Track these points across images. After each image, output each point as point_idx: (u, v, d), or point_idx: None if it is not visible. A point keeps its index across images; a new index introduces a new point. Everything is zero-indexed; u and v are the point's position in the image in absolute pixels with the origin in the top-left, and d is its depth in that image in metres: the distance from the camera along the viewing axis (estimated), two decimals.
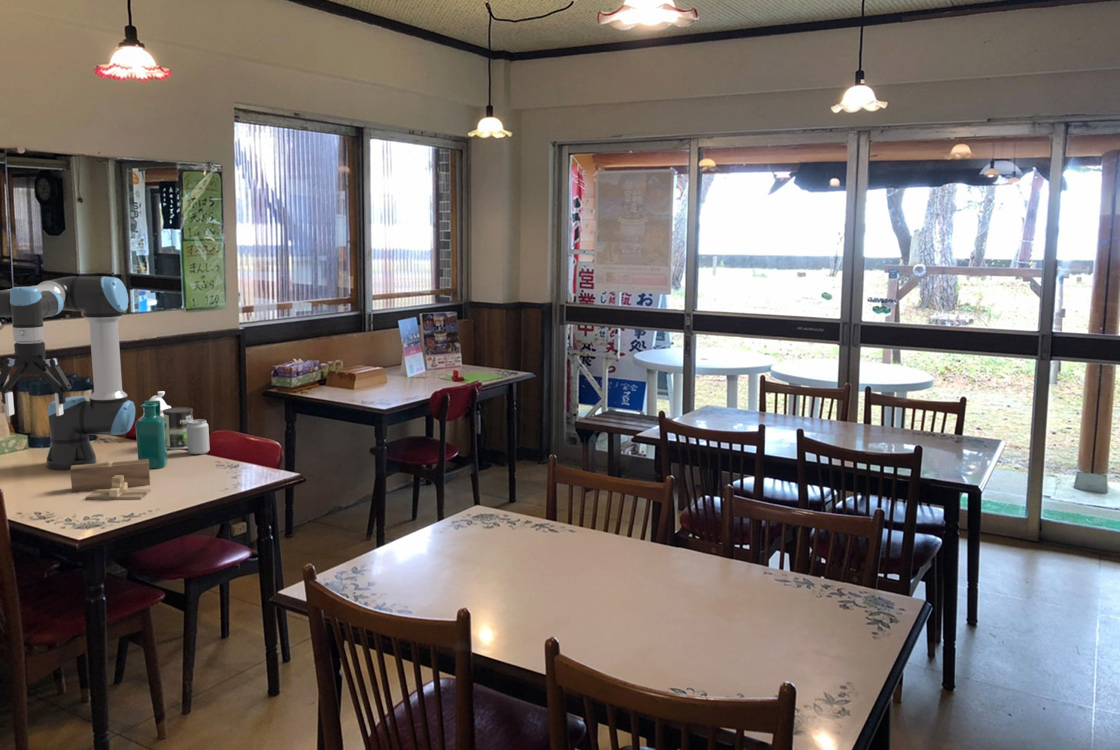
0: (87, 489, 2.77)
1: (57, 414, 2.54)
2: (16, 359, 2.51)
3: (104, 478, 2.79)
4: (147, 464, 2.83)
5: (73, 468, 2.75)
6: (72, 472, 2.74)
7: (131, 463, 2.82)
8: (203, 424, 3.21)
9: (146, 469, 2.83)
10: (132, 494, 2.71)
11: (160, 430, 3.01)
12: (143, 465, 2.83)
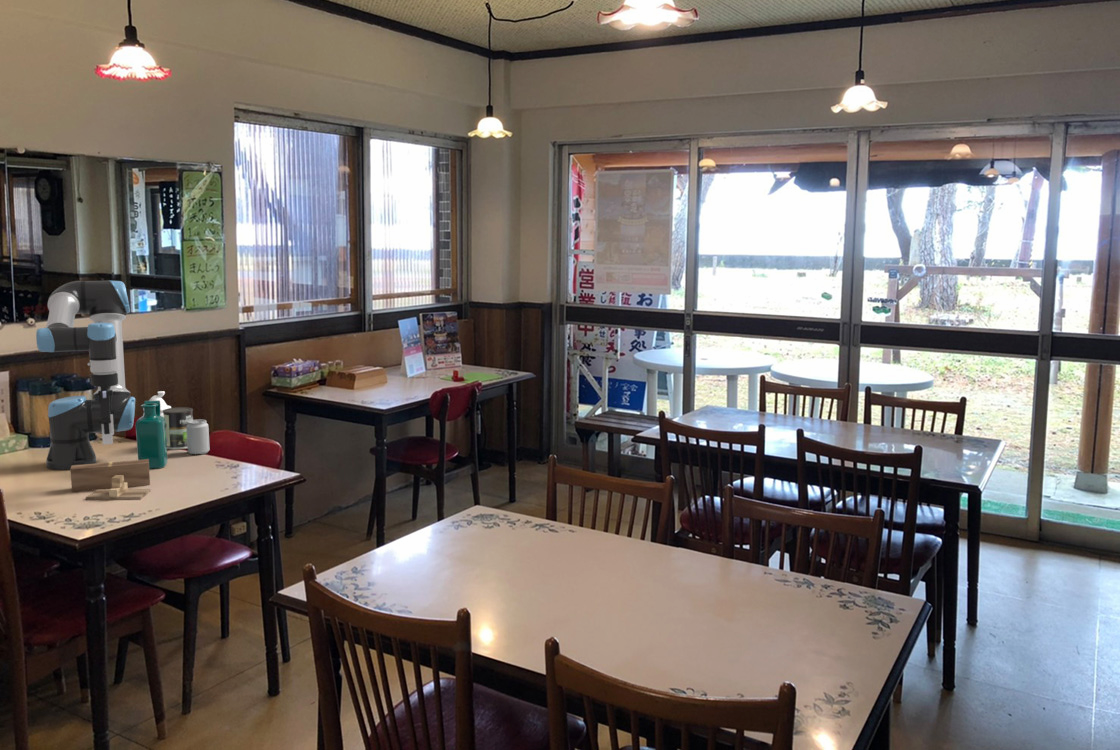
0: (87, 489, 2.77)
1: None
2: None
3: (104, 478, 2.79)
4: (147, 464, 2.83)
5: (73, 468, 2.75)
6: (72, 472, 2.74)
7: (131, 463, 2.82)
8: (203, 424, 3.21)
9: (146, 469, 2.83)
10: (132, 494, 2.71)
11: (160, 430, 3.01)
12: (143, 465, 2.83)
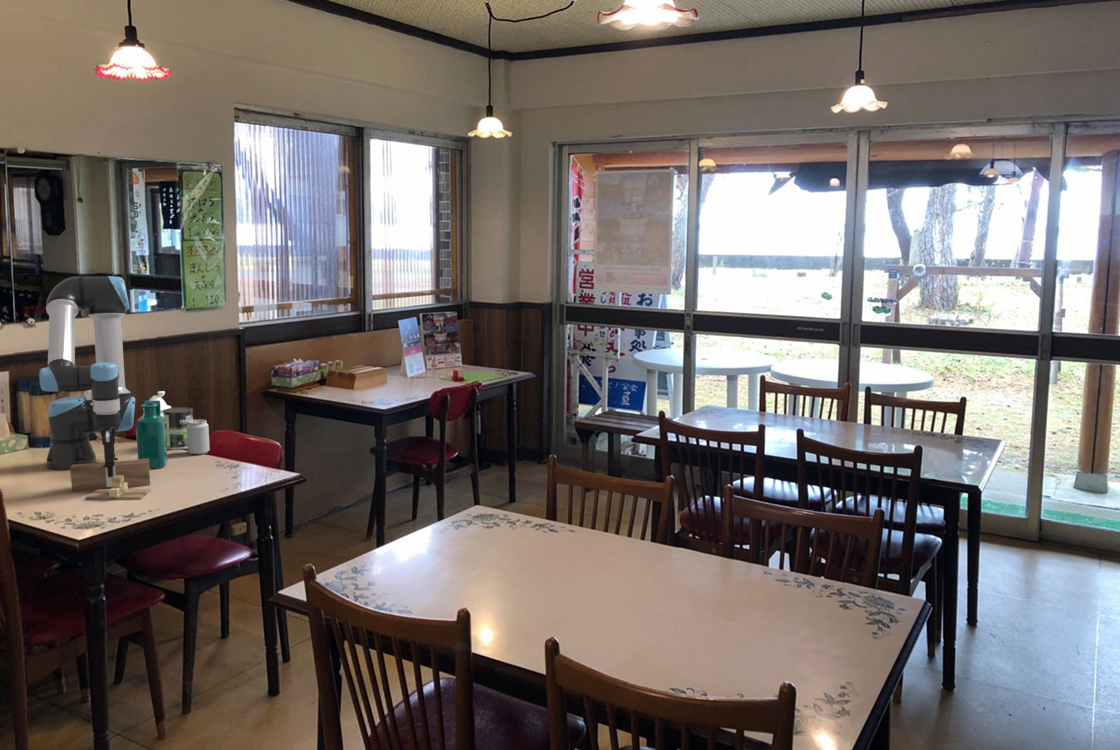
0: (87, 488, 2.77)
1: None
2: None
3: (104, 477, 2.78)
4: (147, 464, 2.83)
5: (73, 467, 2.75)
6: (72, 471, 2.74)
7: (131, 462, 2.82)
8: (203, 424, 3.21)
9: (146, 469, 2.83)
10: (132, 494, 2.71)
11: (160, 430, 3.01)
12: (143, 465, 2.82)
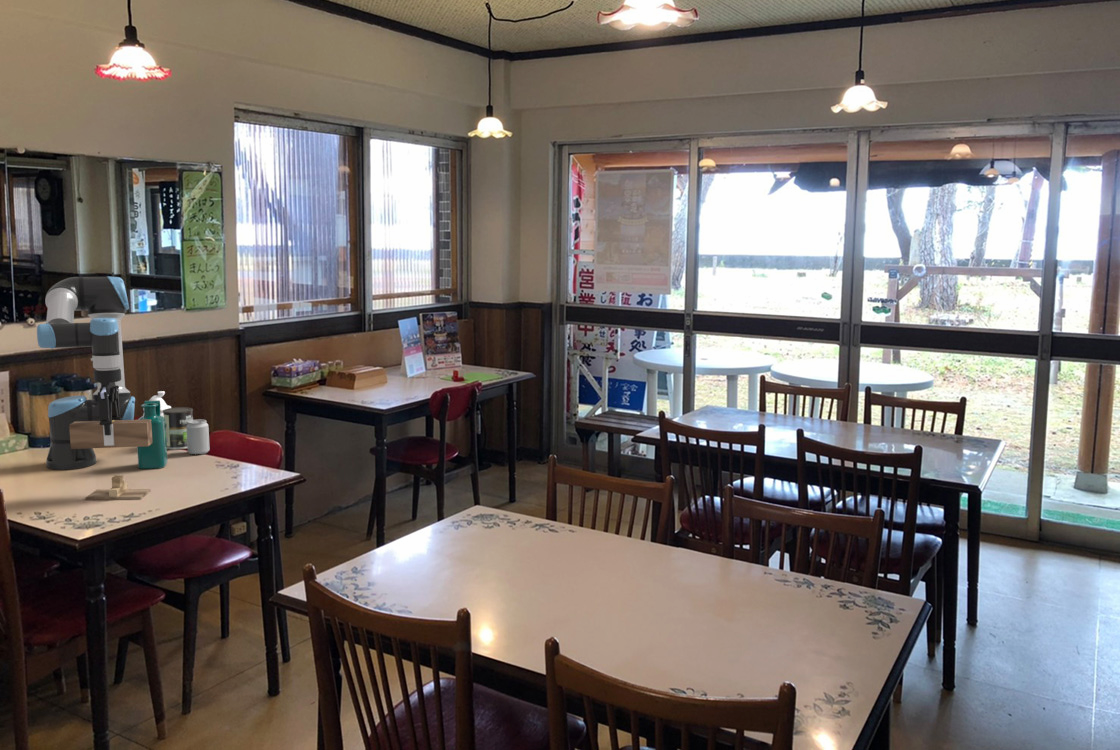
0: (85, 446, 2.70)
1: None
2: None
3: (103, 436, 2.71)
4: (145, 424, 2.73)
5: (73, 424, 2.70)
6: (71, 427, 2.69)
7: (130, 422, 2.73)
8: (203, 424, 3.21)
9: (144, 429, 2.73)
10: (132, 494, 2.71)
11: (160, 430, 3.01)
12: (141, 424, 2.72)
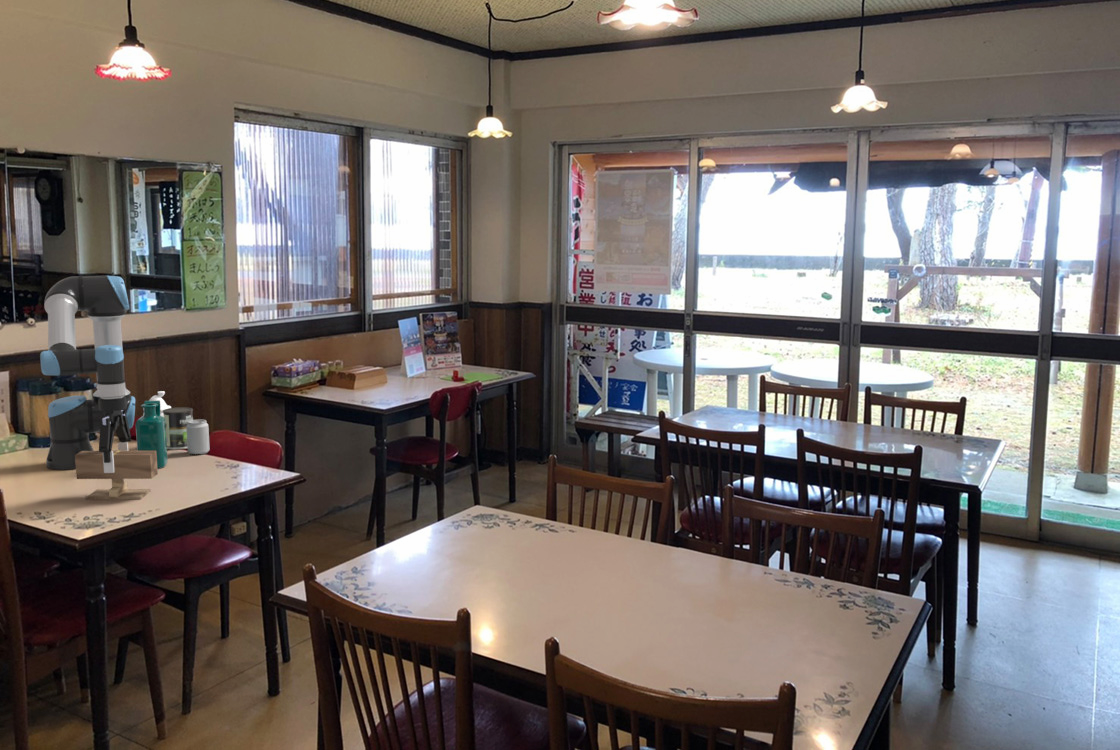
0: (91, 476, 2.69)
1: None
2: None
3: None
4: (149, 456, 2.69)
5: (79, 454, 2.68)
6: (76, 458, 2.67)
7: (134, 453, 2.70)
8: (203, 424, 3.21)
9: (148, 461, 2.69)
10: (132, 494, 2.71)
11: (160, 430, 3.01)
12: (145, 457, 2.69)
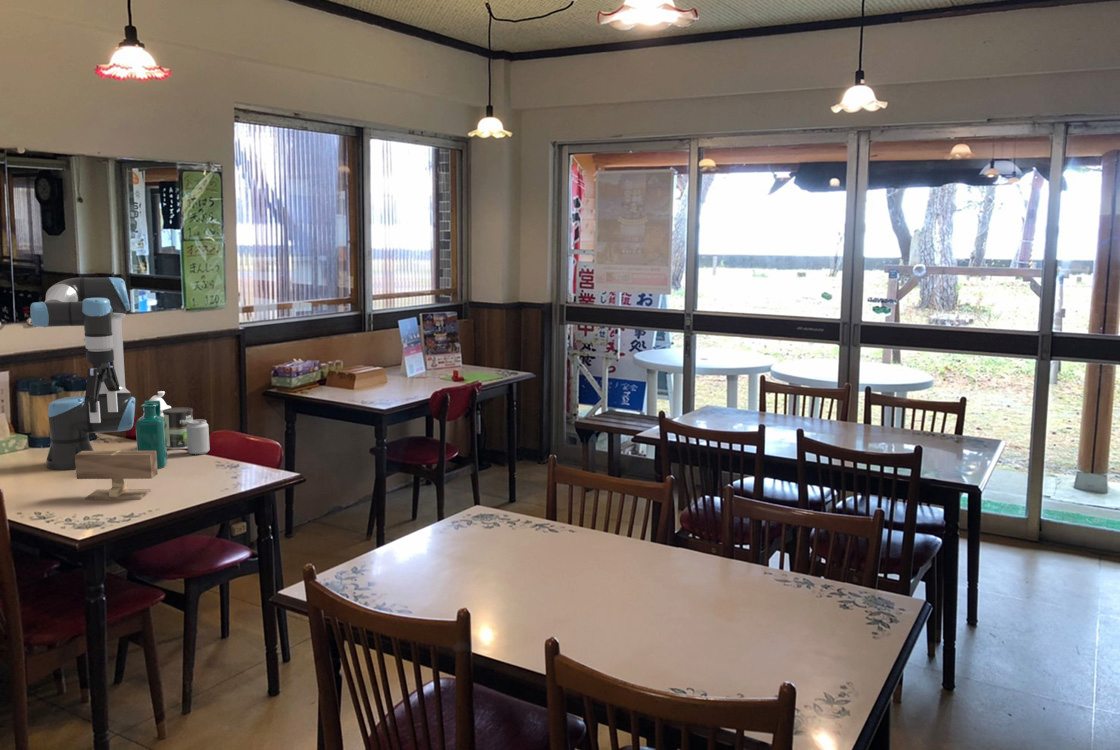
0: (91, 476, 2.69)
1: None
2: None
3: (107, 467, 2.69)
4: (149, 456, 2.69)
5: (79, 454, 2.68)
6: (76, 458, 2.67)
7: (134, 453, 2.70)
8: (203, 424, 3.21)
9: (148, 461, 2.69)
10: (132, 494, 2.71)
11: (160, 430, 3.01)
12: (145, 457, 2.69)
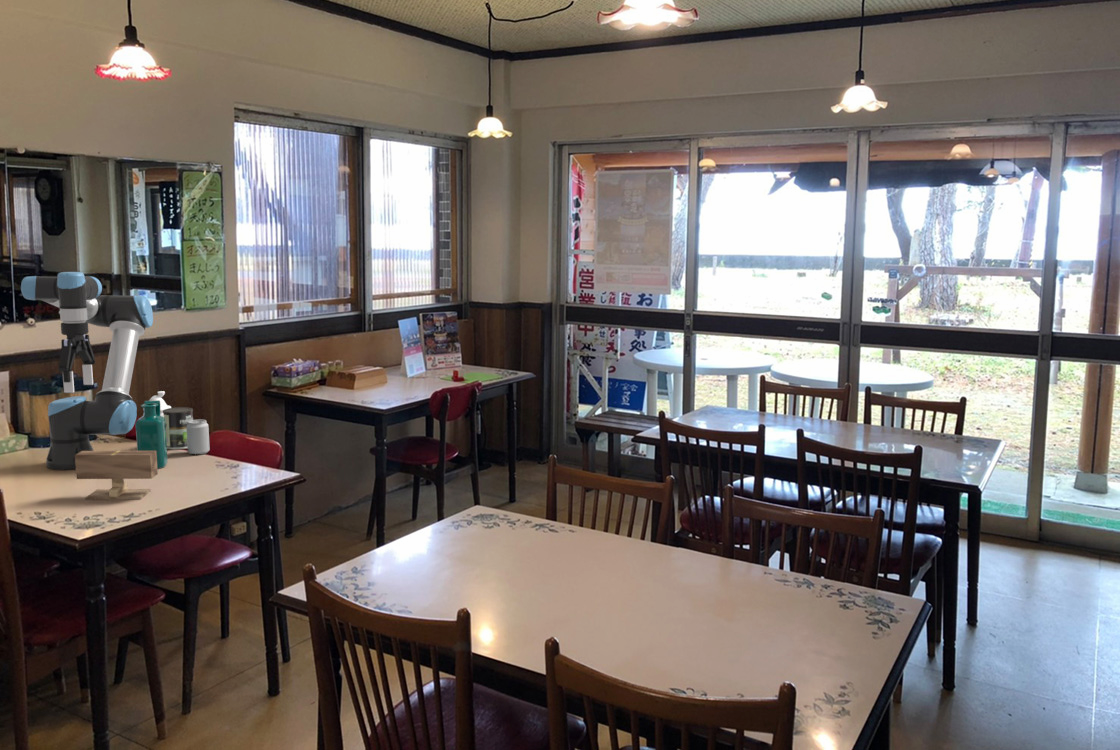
0: (91, 476, 2.69)
1: None
2: None
3: (107, 467, 2.69)
4: (149, 456, 2.69)
5: (79, 454, 2.68)
6: (76, 458, 2.67)
7: (134, 453, 2.70)
8: (203, 424, 3.21)
9: (148, 461, 2.69)
10: (132, 494, 2.71)
11: (160, 430, 3.01)
12: (145, 457, 2.69)
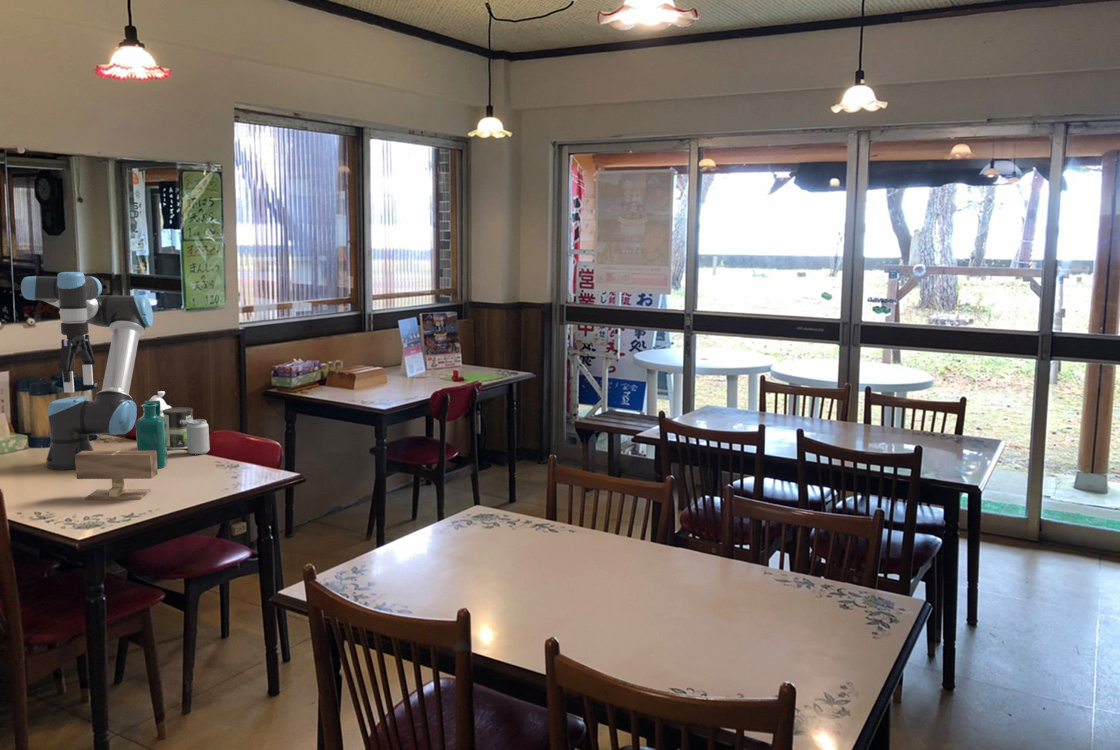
0: (91, 476, 2.69)
1: None
2: None
3: (107, 467, 2.69)
4: (149, 456, 2.69)
5: (79, 454, 2.68)
6: (76, 458, 2.67)
7: (134, 453, 2.70)
8: (203, 424, 3.21)
9: (148, 461, 2.69)
10: (132, 494, 2.71)
11: (160, 430, 3.01)
12: (145, 457, 2.69)
